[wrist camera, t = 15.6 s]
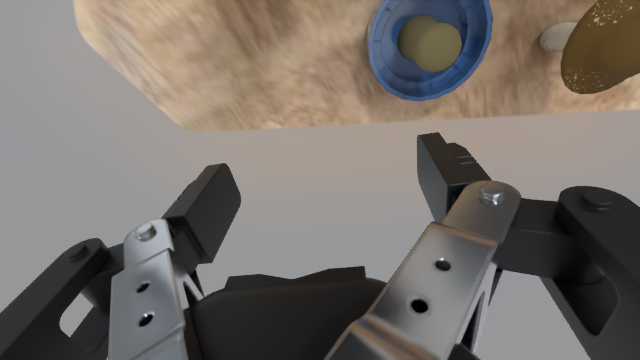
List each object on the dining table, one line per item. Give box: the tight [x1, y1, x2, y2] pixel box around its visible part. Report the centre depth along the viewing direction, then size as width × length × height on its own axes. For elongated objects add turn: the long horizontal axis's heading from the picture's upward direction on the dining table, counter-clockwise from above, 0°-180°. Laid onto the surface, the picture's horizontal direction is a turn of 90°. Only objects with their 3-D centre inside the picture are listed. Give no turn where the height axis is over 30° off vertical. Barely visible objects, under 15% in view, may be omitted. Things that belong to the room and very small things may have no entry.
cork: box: [397, 15, 462, 72], centre depth 36 cm, size 6×6×11 cm
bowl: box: [366, 0, 493, 101], centre depth 38 cm, size 15×15×6 cm
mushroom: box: [539, 0, 640, 94], centre depth 33 cm, size 9×11×15 cm
